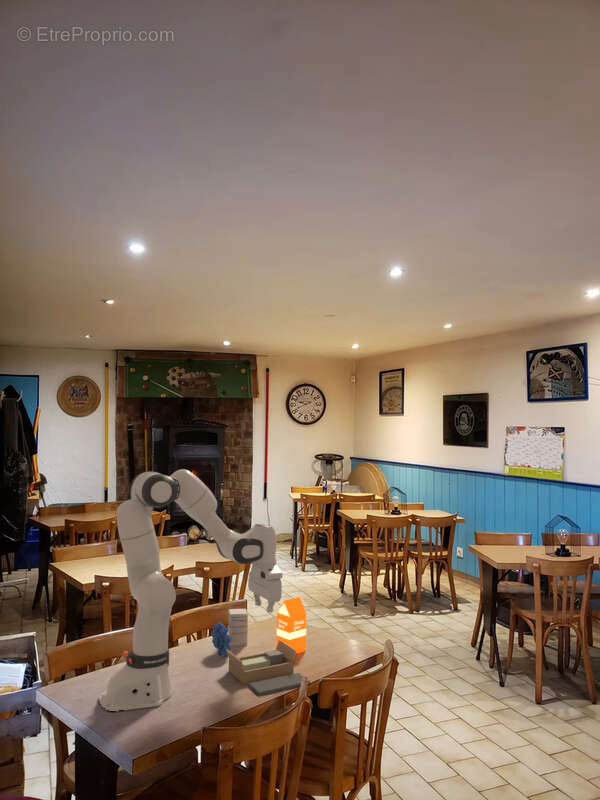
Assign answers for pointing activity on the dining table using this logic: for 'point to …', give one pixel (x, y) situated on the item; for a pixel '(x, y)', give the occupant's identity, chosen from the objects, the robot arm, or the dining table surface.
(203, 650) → the dining table surface
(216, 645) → the grapes
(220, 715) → the dining table surface
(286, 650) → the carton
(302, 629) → the orange juice
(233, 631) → the supplement box
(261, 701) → the dining table surface
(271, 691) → the rubber mat
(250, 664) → the block
